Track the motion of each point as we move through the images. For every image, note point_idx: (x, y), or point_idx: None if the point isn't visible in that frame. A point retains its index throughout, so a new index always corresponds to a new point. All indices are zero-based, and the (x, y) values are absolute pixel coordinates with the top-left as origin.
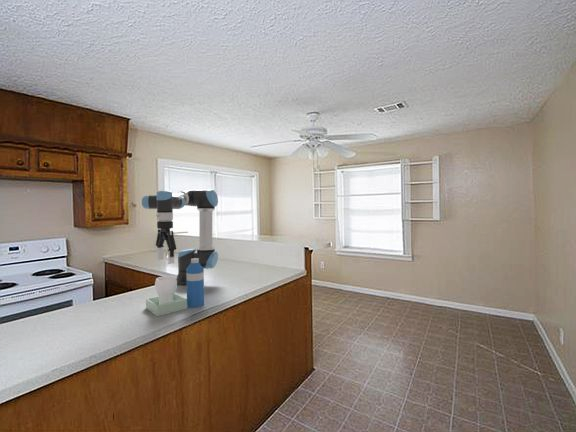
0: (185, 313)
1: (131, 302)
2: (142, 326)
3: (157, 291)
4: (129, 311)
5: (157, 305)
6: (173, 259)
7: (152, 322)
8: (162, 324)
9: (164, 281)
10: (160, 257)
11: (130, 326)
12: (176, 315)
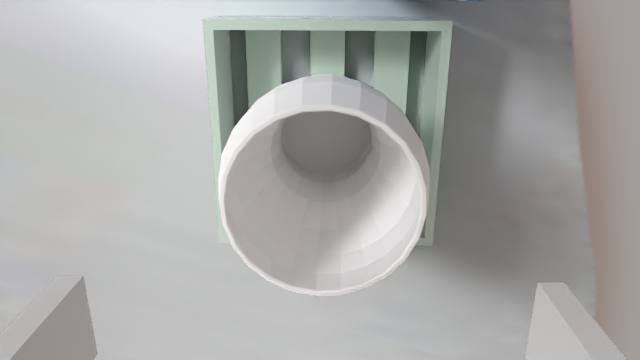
0: (517, 72)
1: (48, 238)
2: (498, 314)
3: (342, 243)
4: (220, 293)
5: (421, 239)
6: (595, 337)
7: (488, 265)
8: (560, 240)
9: (409, 251)
10: (71, 350)
11: (449, 349)
12: (501, 130)
